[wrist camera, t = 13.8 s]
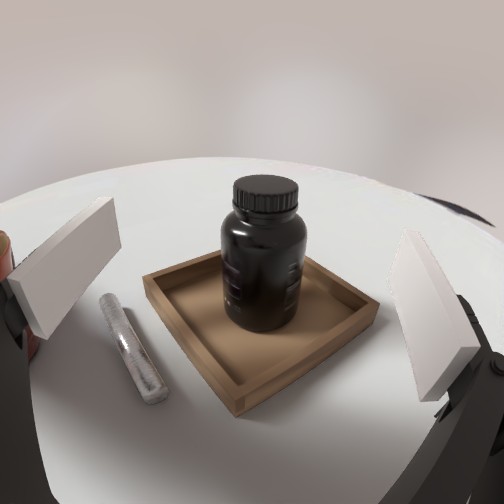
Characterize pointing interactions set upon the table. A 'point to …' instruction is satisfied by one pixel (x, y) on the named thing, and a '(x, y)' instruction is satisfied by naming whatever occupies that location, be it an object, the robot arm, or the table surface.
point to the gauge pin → (132, 351)
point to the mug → (3, 265)
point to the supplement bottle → (263, 253)
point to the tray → (253, 342)
